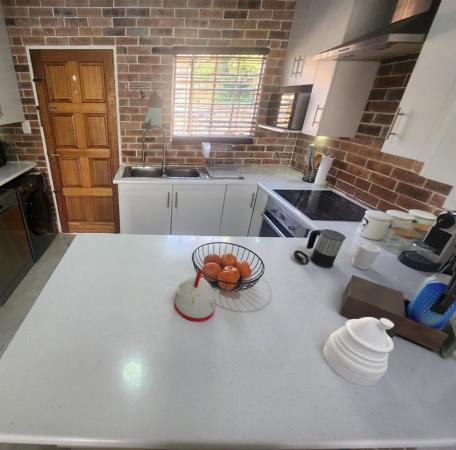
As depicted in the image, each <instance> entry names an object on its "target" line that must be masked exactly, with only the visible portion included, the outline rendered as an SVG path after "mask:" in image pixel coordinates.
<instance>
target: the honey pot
mask: <svg viewBox="0 0 456 450" xmlns="http://www.w3.org/2000/svg"><path fill="white" fill-rule="evenodd" d="M393 326H394V324H393V323H392V322H391V321H390V320H388V319H385V318H381V319H380V321H379V320H378V319H376V318H373V317H365V318H360V319H348V320H347V321H346V322H345V323H344V325H343V326H341V327H339V328H338V329H337V330H335V331H333V332H332V333H331V334H330V335H329V337H328V338H327V341H326V342H325V344H324V347H322V348H323V349H322V354H323V358H324V360H325V361H326V363H327V364H328V365H329V367H330V368H331V369H332V370H333V371H334V372H335V373H336V374H337V375H338V376H340V377H341V378H343V379H344V380H346V381H348V382H350V383H352V384H354V385H356V386H357V385H358V386H361V387H367V388H369V387H373V386H375V385H377V384H378V383H379V381H380V380H382V378H383V376H384V375H385V373H386V372H387V369H388V367H389V365H388V361H389V359H388V358H389V356H390V354H389V353H391V352H392V351H393V350H394V348H395V344H394V342H393V340H392V338H391V337H389V336H388V334H387V333H386V331H385V329H391V328H392V327H393Z"/></svg>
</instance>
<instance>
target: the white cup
mask: <svg viewBox="0 0 456 450" xmlns="http://www.w3.org/2000/svg"><path fill="white" fill-rule="evenodd" d="M380 252H381V248H380V247H379V246H377V245H375V244H372V243H370V242H366V241H359V242H357V245H356V248H355V250H354V252H353V255H352V258H351V261H350V264H351V265H352V266H353V267H354V268H356V269H359V270H364V271H366V270H367V271H368V270H370V268H371V266H372V265H373V264H374V262H375V260H376V259H377V258H378V256H379V254H380Z"/></svg>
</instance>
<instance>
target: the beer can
mask: <svg viewBox="0 0 456 450" xmlns="http://www.w3.org/2000/svg"><path fill="white" fill-rule="evenodd" d="M451 277H452V276H449V275H446V274H440V273H439V272H438V273H437V272H436V273H434V274H433V275H431V276H429V277H427V278H425V279H424V281H423V283H422V284H421V285H420V287H419V288H418V290H417V292H416V293H415V294H414V296H413V298H412V299H411V302H410V303H409V305H408V306H407V308H406V309H405V313H406V316H407V318H408V319H410V320H413V321H416V322H418V323H421V324H423V325H426V326H428V327H431V328H433V329H441V328H442V327H443V326H444V325H445V323H446V322H447V321H448V320H449V318H450V317H451V316H452V315H453V316H454V314H455V312H456V300H455V301H454V302H453V303H452V305H451V306H450V307H449V309H448V310H447V311H446V312H445V314H444V315H440V314H437V313H435V312H432V311H430V310H429V309H430V308H431V306H432V305H433V304H434V302H435V301H436V299H437V298H438V297H439V295H440V291H441V292H445V290H446V288H447V286H448V283H449V281H450V279H451Z"/></svg>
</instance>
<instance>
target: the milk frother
mask: <svg viewBox="0 0 456 450" xmlns="http://www.w3.org/2000/svg"><path fill="white" fill-rule="evenodd" d="M317 237H318V239H317ZM346 238H347V237H346V235H344V234H343V233H341V232H339V231H336V230H334V229H329V228H325V229H324V228H323V229H314V230H312V231H311V232H310V233H309V236H308V239H307V244H306V249H308V250H312V249H313V251H312V254H311V256H309V255H307V253H305V252H304V251H302V250H300V249H296V250H294V252H293V257H294V259H295V261H296V262H297V263H299V264H301V265H309V263H310V261H311V262H312V263H313V264H314V265H316V266H318V267H320V268H326V269H331V268H333V267H334V263H335V261H336V258H337V256H338V254H339V252H340V250H341V247H342V245H343V243H344V241H345V240H347V239H346ZM316 241H317V242H316ZM315 243H316V244H315ZM301 255H302V256H303V257H304V258H303V257H302V256H301ZM305 260H306V261H305Z"/></svg>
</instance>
